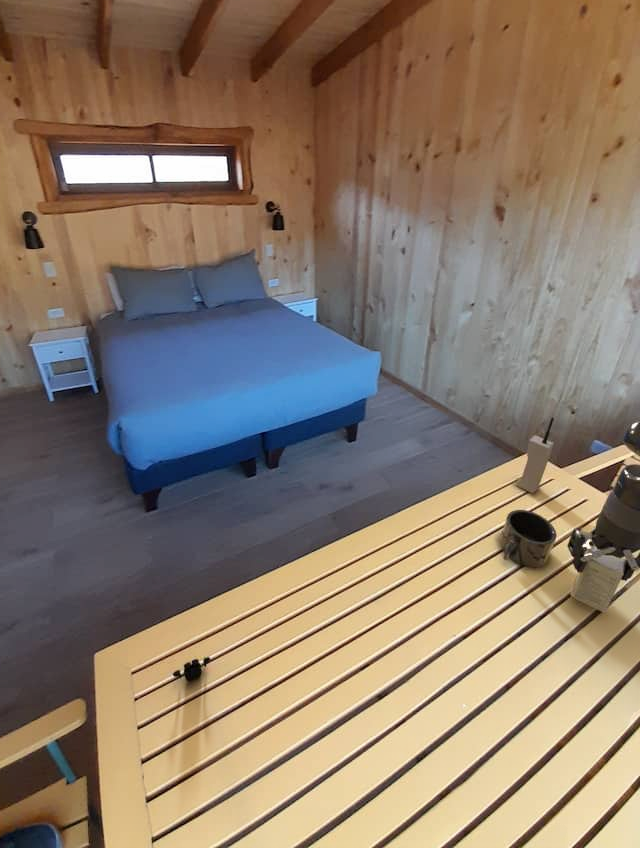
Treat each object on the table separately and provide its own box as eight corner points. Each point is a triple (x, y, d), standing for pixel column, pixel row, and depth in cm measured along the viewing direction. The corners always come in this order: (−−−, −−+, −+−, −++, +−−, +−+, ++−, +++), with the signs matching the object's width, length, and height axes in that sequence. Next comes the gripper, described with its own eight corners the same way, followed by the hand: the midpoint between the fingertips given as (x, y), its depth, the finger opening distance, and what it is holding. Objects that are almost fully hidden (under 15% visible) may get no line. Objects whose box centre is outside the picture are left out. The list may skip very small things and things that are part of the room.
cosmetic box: (607, 599, 86) (627, 561, 81) (604, 614, 84) (625, 576, 78) (572, 581, 90) (589, 543, 85) (568, 595, 87) (585, 557, 82)
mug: (515, 526, 106) (522, 503, 103) (555, 554, 98) (565, 532, 95) (483, 548, 100) (489, 526, 97) (523, 581, 92) (532, 558, 89)
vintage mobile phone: (520, 479, 122) (543, 410, 111) (538, 488, 119) (563, 418, 107) (515, 485, 120) (537, 415, 109) (532, 494, 116) (558, 423, 105)
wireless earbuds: (210, 664, 78) (208, 649, 76) (214, 677, 76) (211, 662, 74) (174, 680, 76) (171, 665, 74) (177, 694, 74) (173, 680, 72)
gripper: (592, 524, 74) (567, 582, 82) (685, 538, 71) (650, 597, 78) (576, 495, 81) (554, 551, 88) (661, 507, 77) (630, 564, 85)
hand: (599, 572), depth 83 cm, fingers closed on cosmetic box, 7 cm apart
